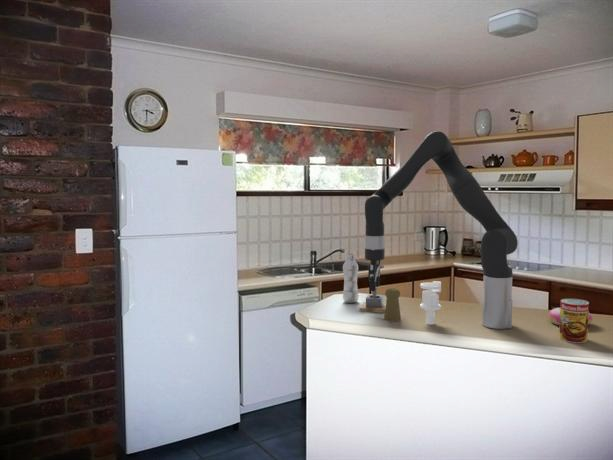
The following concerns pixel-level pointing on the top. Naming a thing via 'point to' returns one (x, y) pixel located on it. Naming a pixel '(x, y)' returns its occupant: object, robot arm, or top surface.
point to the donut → (555, 316)
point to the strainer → (430, 300)
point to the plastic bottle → (350, 279)
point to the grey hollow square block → (374, 301)
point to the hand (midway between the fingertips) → (374, 288)
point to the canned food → (574, 320)
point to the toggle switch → (372, 309)
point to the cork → (392, 305)
